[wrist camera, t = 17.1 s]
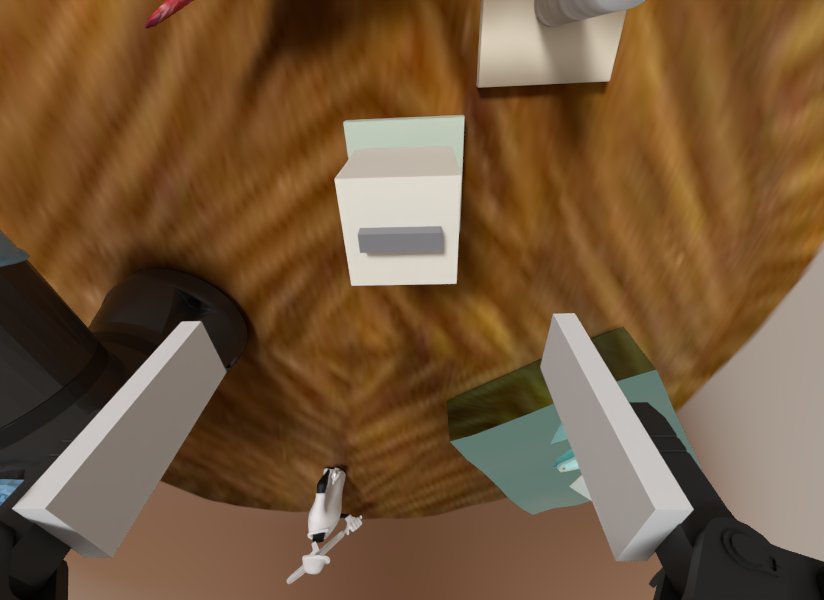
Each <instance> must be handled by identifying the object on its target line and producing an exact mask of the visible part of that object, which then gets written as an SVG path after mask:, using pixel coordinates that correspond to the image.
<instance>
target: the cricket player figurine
mask: <svg viewBox="0 0 824 600" xmlns="http://www.w3.org/2000/svg"><path fill="white" fill-rule="evenodd" d="M345 477H346V474H345V472H344V471H342V470H341V469H339V468H335V469H328V468H325V469H324V474H323V476H322V478H321V479H320V480H319V482H318V484H317V493H316V499H315V502H314V504H313V506H312V508H311V510H310V512H309V519H308V529H309V534H308V535H307V536H308V538H310V539H311V540H313V541H314V542H313V543H312V544H311V545H312V548H313V551H312V552H311V553H310V555H304V556H303V558H302V561H303V565H302V566H301V567H300V568H299V569H297V570H296V571H295V572H294V573H293V574H291V576H290V577H289V578H288V579H287V584H290V583H292V582H294V581H295V580H296V579H298V578H299V577H300V576H302V575H303V574H304V573H305V572H307V573H309V574H317V573H319V572H320V571H321V569H322V568H323V566H324V564H329V563H330V558H329V557H327V556H324V554H326V553H327V552H328V551H329V550H330V549H331V548H332V547H333V546H334V545H335V544H336V543H337V542H338V541H340V539H342V538H343V537H344V534H345V533H346V534H347V535H349V530H351V531H352V532H354V531H355V530H357V528H359V527H360V526H361V525H362V522H361V519H362V516H361V515H360V517H359V518H358V517H357V518H356V517H352V516H351V515H349V514H342V513H341V508H342V492H343V486H344V482H345ZM340 518H345V520H346V522H347V527H346V529H345V530H344V531H341V532H339V533H338V534H337V535H336V536H335V537H334V538H333V539H331V540H330V541H329V542H328V543H327V544H326V545H325V546H323V547H322V548H321V549H320V550H319V548H318V545H317V544H316V542H323V541H324V539H326V538H327V537H328V536H329V534H331V532H332V530H333V529H334V528H335V527H336V525H337V523H338V521H339V519H340Z"/></svg>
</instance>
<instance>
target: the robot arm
mask: <svg viewBox="0 0 824 600" xmlns="http://www.w3.org/2000/svg"><path fill="white" fill-rule="evenodd" d="M29 257H30V256H29V255H28V253H27V252H26V251H25V250H22V249H20V248H17V247H16V246H15V245H14V244H13V243H12V241H11V240H10V239H9V238H8V237H7V236H6V235H5V234H4V233H3V232H2V231H1V230H0V600H68V566H67V562H66V561H64V560H63V559H64V558H65V556H66V555H67V553H68V552H69V551H70V549H73V550H74V551H76V552H77V553H79V554H80V555H82V556H83V557H97V558H98V557H99V558H107V557H108V558H112V557H113V556H114V554H115V552H116V551H117V549H118V547H119V545H120V544H121V542H122V541H123V539H124V538H125V536H126V534H127V533H128V531H129V530H130V528H131V526H132V525H133V523H134V521H135V520H136V518H137V517H138V515H139V513H140V512H141V510H142V509H143V507H144V505H145V503H146V502H147V500H148V499H149V497H150V496H151V494H152V492H153V491H154V489H155V487H156V486H157V484H158V483H159V481H160V479H161V478H162V476H163V475H164V473H165V471H166V470H167V468H168V466H169V465H170V463H171V462H172V460H173V458H174V457H175V455H176V453H177V452H178V450H179V449H180V447H181V445H182V444H183V442H184V441H185V439H186V437H187V436H188V434H189V432H190V431H191V429H192V428H193V426H194V424H195V423H196V421H197V419H198V418H199V416H200V415H201V413H202V411H203V410H204V408H205V406H206V405H207V403H208V402H209V400H210V398H211V397H212V395H213V394H214V392H215V390H216V389H217V387H218V385H219V384H220V382H221V381H222V379H223V377H224V376H225V374H226V372H227V371H228V370H229V369H231V368H232V367H233V366H234V364H235V363H236V362H237V361H238V359H239V357H240V356H241V354H242V353H243V351H244V349H245V347H246V344H247V339H248V333H247V327H246V324H245V321H244V319H243V317H242V315H241V314H240V312H239V310H238V309H237V308H236V306H235V305H234V304H233V303H232V302H231V301H230V300H229V299H228V298H227V297H226V296H225V295H224V294H223V293H221V292H220V291H219V290H217V289H216V288H215V287H213V286H211V285H210V284H208V283H206V282H205V281H203V280H201V279H199V278H196V277H194V276H192V275H189V274H186V273H183V272H179V271H175V270H169V269H145V270H141V271H138V272H135V273H133V274H131V275H129V276H128V277H126V278H125V279H123V280H122V281H121V282H119V283H118V284H117V285H115V286H114V287H113V288H112V289H111V290H110V291H109V292H108V293H107V295H106V296H105V299H104V301H103V303H102V306H101V308H100V309H99V311H98V312H97V314H96V316H95V317H94V319H93V320H92V322H91V324H90V326H89V327H88V328H87V327H86V325H85V324H84V323H83V322H82V321H81V320H80V319H79V317H78V316H77V315H76V314H75V313H74V312H73V311H72V310H71V308H70V307H69V306H68V305H67V304H66V303H65V302H64V300H63V299H62V298H61V297H60V296H59V295H58V294H57V293H56V291H55V290H54V289H53V288H52V287H51V286H50V285H49V284H48V282H47V281H46V280H45V279H44V278H43V277H42V276H41V274H40V273H39V272H38V271H37V270H36V269H35V268H34V267H33V265H32V264H31V263H30V262H29V261H28V260H27V259H28V258H29ZM540 368H541V371H542V374H543V376H544V379H545V381H546V384H547V386H548V389H549V391H550V394H551V397H552V399H553V402H554V404H555V407H556V409H557V412H558V415H559V417H560V420H561V422H562V425H563V427H564V430H565V433H566V435H567V438H568V440H569V443H570V445H571V448H572V451H573V453H574V456H575V458H576V461H577V463H578V466H579V469H580V471H581V474H582V476H583V479H584V481H585V484H586V486H587V489H588V492H589V494H590V497H591V499H592V502H593V504H594V507H595V509H596V512H597V515H598V517H599V520H600V522H601V525H602V528H603V530H604V533H605V535H606V538H607V540H608V543H609V546H610V548H611V551H612V553H613V556H614V558H615V561H647V560H648V559H649V558H650V557H651V556H652V555H653V553H655V552H656V554H657V556H658V558H659V560H660V562H661V564H662V566H663V568H662V569H661V570H660V571H659V572H658V573H657V574H656V575H655V576H654V577H653V578H652V580H651V581H650V583H649V585H651V586H652V587H655V586H656V585H657V587H656V591H655V595H654V599H653V600H824V562H823V561H820V560H816V559H814V558H810V557H807V556H804V555H801V554H798V553H795V552H791V551H788V550H785V549H782V548H780V547H777V546H774V545H772V544H770V543H769V541H768V540H767V539H766V538H765V537H764V536H763V535H761V534H760V533H758V532H757V531H755V530H754V529H753V528H751V527H750V526H748V525H746V524H744V523H741V522H739V521H738V520H737V519H735V518H734V516H733V515H732V514H731V512H730V511H729V510H728V509H727V507H726V506H725V504H724V503H723V501H722V500H721V498H720V497H719V496H718V494H717V493H716V491H715V490H714V488H713V487H712V485H711V484H710V482H709V481H708V479H707V478H706V477H705V475H704V474H703V472H702V471H701V469H700V468H699V466H698V465H697V463H696V462H695V460H694V459H693V458H692V456H691V455H690V453H688V452H687V449H686V447H685V446H684V444H683V443H682V441H681V440H680V439H679V438H677V434H676V433H675V431H674V430H673V428H672V427H671V425H670V424H669V422H668V421H667V419H666V418H665V417H664V416H663V415H662V414H661V413H659V412H658V411H657V410H656V409H655V408H654V407H652V406H651V405H650V404H649V403H648V402H628V400H627V399H626V397H625V396H624V394H623V392H622V391H621V389H620V387H619V386H618V384H617V382H616V381H615V379H614V377H613V376H612V374H611V372H610V371H609V369H608V368H607V366H606V364H605V363H604V361H603V359H602V358H601V356H600V354H599V353H598V351H597V349H596V348H595V346H594V345H593V343H592V341H591V340H590V338H589V336H588V335H587V333H586V331H585V330H584V328H583V326H582V325H581V323H580V321H579V320H578V318H577V317H576V315H575V313H572V314H553V317H552V321H551V325H550V329H549V333H548V337H547V341H546V345H545V350H544V354H543V358H542V362H541V366H540Z"/></svg>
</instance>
